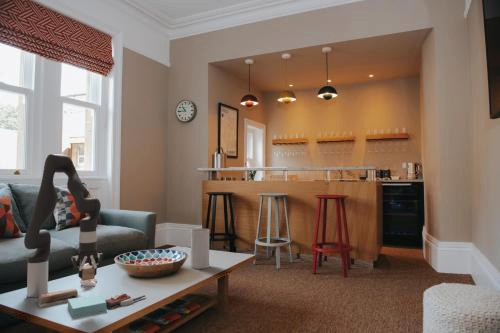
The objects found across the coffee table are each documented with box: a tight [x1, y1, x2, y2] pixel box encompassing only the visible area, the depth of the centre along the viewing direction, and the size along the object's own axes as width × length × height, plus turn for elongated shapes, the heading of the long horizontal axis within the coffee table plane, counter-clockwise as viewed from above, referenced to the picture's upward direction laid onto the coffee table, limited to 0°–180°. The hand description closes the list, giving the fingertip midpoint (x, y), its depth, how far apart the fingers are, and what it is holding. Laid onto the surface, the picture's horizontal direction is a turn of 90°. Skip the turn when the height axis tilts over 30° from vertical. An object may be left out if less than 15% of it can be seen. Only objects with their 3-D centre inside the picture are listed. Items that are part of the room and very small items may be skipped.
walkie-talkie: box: [104, 292, 146, 309], centre depth 172 cm, size 9×4×20 cm
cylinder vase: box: [190, 228, 210, 270], centre depth 239 cm, size 12×12×25 cm
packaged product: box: [36, 288, 82, 309], centre depth 174 cm, size 18×5×10 cm
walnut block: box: [80, 265, 95, 281], centre depth 164 cm, size 5×5×5 cm
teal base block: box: [67, 293, 107, 318], centre depth 164 cm, size 14×14×4 cm
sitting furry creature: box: [79, 262, 98, 287], centre depth 199 cm, size 10×9×12 cm
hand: (87, 276), depth 164 cm, fingers closed on walnut block, 5 cm apart
